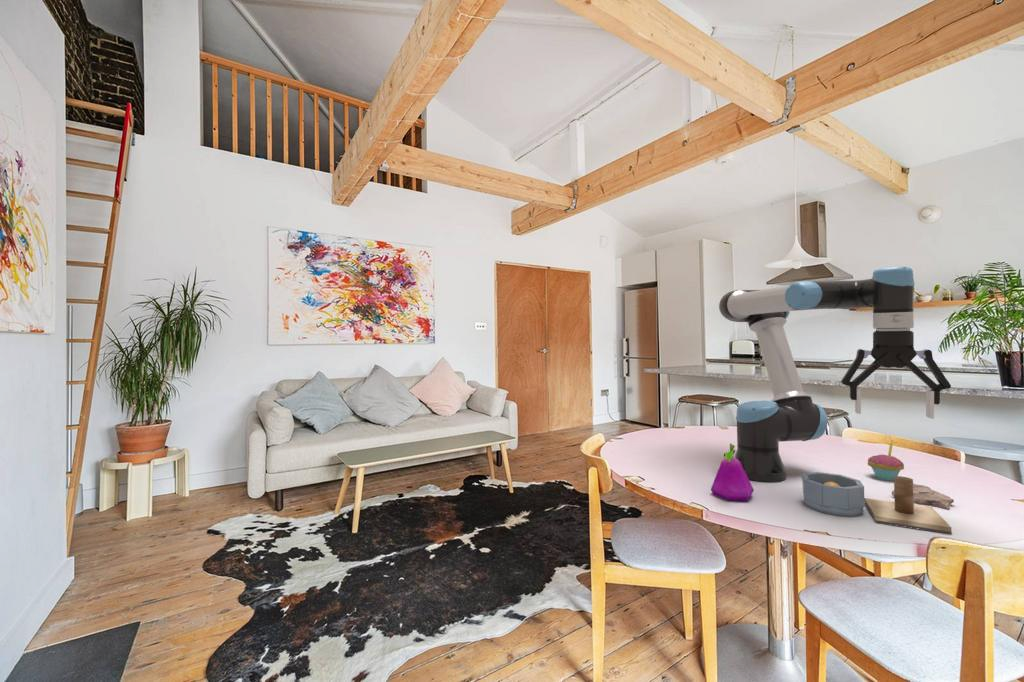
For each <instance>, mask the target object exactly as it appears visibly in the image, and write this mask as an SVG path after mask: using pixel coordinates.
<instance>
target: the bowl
mask: <svg viewBox="0 0 1024 682" xmlns="http://www.w3.org/2000/svg"><path fill="white" fill-rule="evenodd" d="M801 476H802V477H801V478H802V479H801V481H802V483H801V484H802V495H803V496H802V499H803V504H804V505H805V506H806V507H807V508H809V509H811V510H813V511H817V512H819V513H822V514H827V515H831V516H838V517H847V518H849V517H850V518H851V517H859V516H861V515H863V514H864V508H866V505H865V501H864V498H865V485H864V484H863V482H862V481H861V480H860V479H856V478H853V477H850V476H846V475H843V474H840V473H828V472H820V471H814V472H807V473H805V472H804V473H802V474H801ZM826 482H834V483H836V484H838V485H839V486H832V485H824V483H826Z"/></svg>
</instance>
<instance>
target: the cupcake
mask: <svg viewBox="0 0 1024 682" xmlns="http://www.w3.org/2000/svg"><path fill="white" fill-rule="evenodd" d="M888 447H889V448H888V454H887V455H886V454H878V455H872V456H871V457H868V459H867V466H869V467H871V469H872V472H873V473H874V475H875V478H877V479H879V480H884V481H891V482H894V477H895V476H899V473H900V472H901V471H902V470H904V469H905V465H904V462H903V461H901V460H900V459H899V458H897V457H895V456H893V455H892V452H893V440H891V441H890V442H889V445H888Z"/></svg>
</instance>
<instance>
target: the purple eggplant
mask: <svg viewBox="0 0 1024 682" xmlns="http://www.w3.org/2000/svg"><path fill="white" fill-rule="evenodd" d="M735 447H736V446H735V445H734V444H732V443H729V451H728V452H725V453H724V454H723V458H724V459H722V460H721V462H720V464H719V467H718V470H717V471H716V472H717V473H716V475H715V477H714V480H713V483H712V485H711V488H710V491H711V492H712V494H713V495H714V496H716V497H718V498H721V499H723V500H725V501H728V502H748V501H749V499H750V498H751V497H752V495H753V493H754V491H755V489H754V487H753V485H752V483H751V480H749V479H748V477H747V475H746V473H745V471H744V469H743V467H742V465H741V463H740V461H739V460H737V459H736V458H735V454H736V449H735Z"/></svg>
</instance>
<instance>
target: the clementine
mask: <svg viewBox="0 0 1024 682" xmlns="http://www.w3.org/2000/svg"><path fill="white" fill-rule="evenodd" d="M824 485H832V486H839V485H838V484H836V483H834V482H826V483H824Z"/></svg>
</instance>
